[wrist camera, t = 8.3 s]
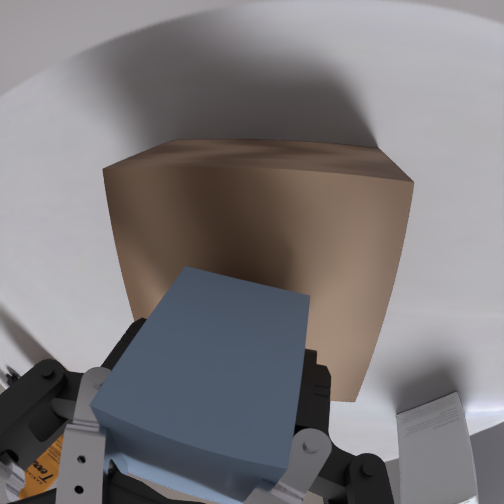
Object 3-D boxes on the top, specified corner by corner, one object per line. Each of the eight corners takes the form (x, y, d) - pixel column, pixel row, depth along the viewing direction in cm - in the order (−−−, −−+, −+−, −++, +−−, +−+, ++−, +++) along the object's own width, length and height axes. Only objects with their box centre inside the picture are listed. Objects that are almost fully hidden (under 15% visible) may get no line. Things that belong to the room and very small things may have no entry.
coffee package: (81, 412, 44) (25, 503, 25) (34, 361, 40) (-36, 453, 21) (113, 414, 41) (52, 523, 22) (59, 357, 37) (-23, 469, 18)
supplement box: (394, 413, 28) (398, 520, 17) (458, 389, 25) (479, 496, 14) (410, 438, 30) (413, 528, 19) (465, 418, 27) (480, 508, 16)
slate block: (310, 295, 12) (287, 468, 6) (283, 376, 14) (255, 511, 8) (185, 266, 12) (89, 404, 6) (184, 350, 15) (124, 469, 9)
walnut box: (378, 147, 17) (414, 182, 10) (351, 319, 23) (354, 402, 17) (174, 139, 20) (102, 168, 13) (191, 300, 26) (150, 370, 19)
